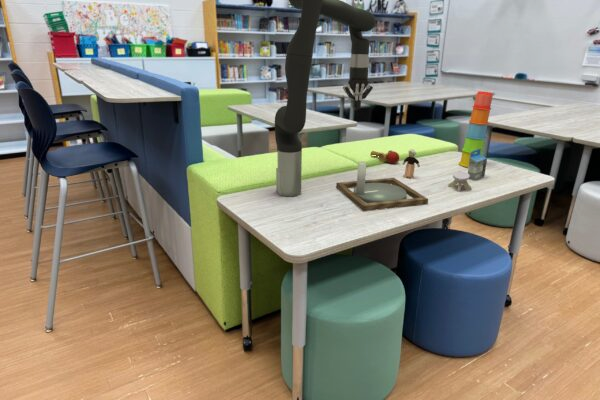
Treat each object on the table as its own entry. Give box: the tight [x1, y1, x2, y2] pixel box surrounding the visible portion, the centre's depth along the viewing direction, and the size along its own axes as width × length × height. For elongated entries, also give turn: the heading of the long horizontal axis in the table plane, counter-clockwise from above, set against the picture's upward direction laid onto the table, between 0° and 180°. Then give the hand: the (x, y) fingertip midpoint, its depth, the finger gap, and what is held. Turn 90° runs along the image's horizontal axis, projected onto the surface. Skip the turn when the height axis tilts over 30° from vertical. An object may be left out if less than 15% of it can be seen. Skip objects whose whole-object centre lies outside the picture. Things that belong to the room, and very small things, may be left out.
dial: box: [353, 161, 408, 203], centre depth 163 cm, size 20×20×14 cm
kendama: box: [370, 149, 400, 165], centre depth 212 cm, size 8×6×18 cm
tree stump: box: [447, 170, 473, 192], centre depth 174 cm, size 10×9×6 cm
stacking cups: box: [458, 90, 494, 168], centre depth 199 cm, size 10×10×35 cm
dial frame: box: [335, 177, 429, 212], centre depth 165 cm, size 26×26×2 cm
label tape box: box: [467, 149, 488, 181], centre depth 185 cm, size 9×4×12 cm, turn 131°
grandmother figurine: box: [401, 148, 421, 179], centre depth 185 cm, size 8×4×13 cm, turn 68°
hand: (356, 109), depth 178 cm, fingers closed
